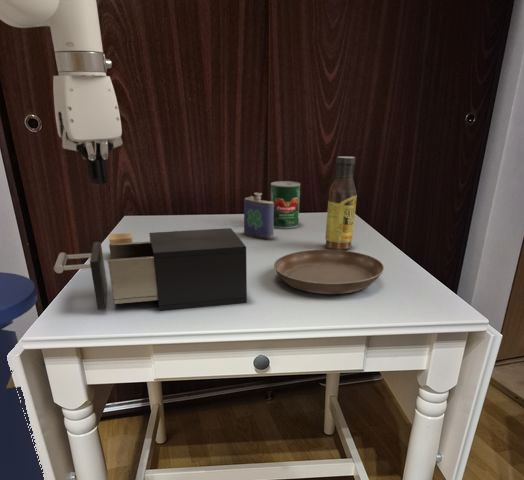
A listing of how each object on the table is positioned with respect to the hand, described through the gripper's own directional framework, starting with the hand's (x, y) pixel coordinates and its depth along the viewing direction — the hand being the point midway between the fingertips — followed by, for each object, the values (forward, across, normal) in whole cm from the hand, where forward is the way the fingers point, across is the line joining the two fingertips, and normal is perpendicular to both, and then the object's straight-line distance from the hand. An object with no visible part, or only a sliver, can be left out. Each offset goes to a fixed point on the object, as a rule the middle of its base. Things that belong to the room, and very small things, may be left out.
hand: (99, 182), depth 88 cm
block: (+17, -7, -9) cm, 21 cm away
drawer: (+16, +5, +14) cm, 22 cm away
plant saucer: (+18, -29, +31) cm, 46 cm away
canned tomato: (+18, -54, -6) cm, 58 cm away
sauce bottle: (+18, -48, +18) cm, 54 cm away
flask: (+18, -41, -2) cm, 45 cm away
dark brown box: (+17, -6, +20) cm, 27 cm away
